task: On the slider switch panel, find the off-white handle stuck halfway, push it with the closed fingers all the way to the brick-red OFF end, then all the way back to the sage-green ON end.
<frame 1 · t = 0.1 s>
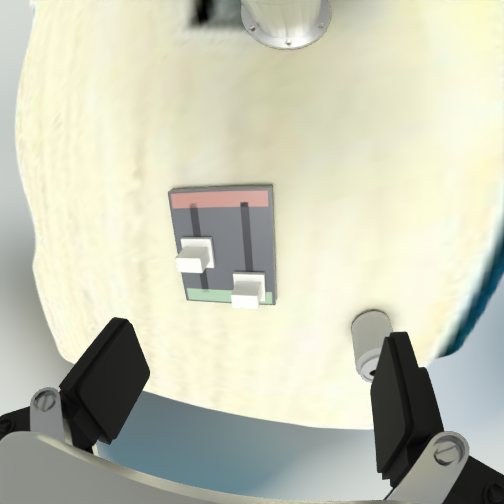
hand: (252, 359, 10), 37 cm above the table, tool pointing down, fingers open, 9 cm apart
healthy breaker: (247, 293, 48), point 5 cm above the table, slide at 6.0 cm
slider switch panel: (226, 245, 50), on the table
tripped breaker: (194, 258, 47), point 5 cm above the table, slide at 0.0 cm
can: (370, 323, 53), on the table
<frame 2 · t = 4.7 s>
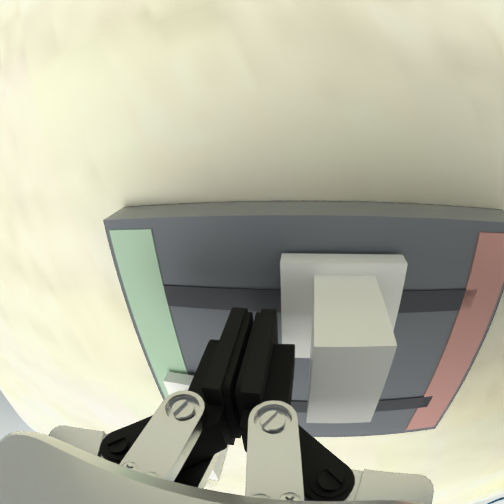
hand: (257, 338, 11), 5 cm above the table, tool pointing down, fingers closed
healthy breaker: (203, 431, 15), point 5 cm above the table, slide at 6.0 cm
slider switch panel: (314, 338, 17), on the table
tripped breaker: (343, 342, 11), point 5 cm above the table, slide at -0.9 cm, touching gripper
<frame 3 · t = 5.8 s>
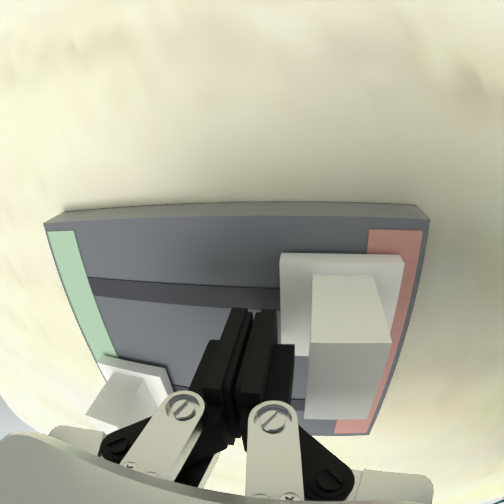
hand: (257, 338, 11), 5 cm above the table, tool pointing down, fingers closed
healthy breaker: (128, 411, 17), point 5 cm above the table, slide at 6.0 cm
slider switch panel: (225, 332, 18), on the table
tripped breaker: (340, 339, 11), point 5 cm above the table, slide at -6.2 cm, touching gripper
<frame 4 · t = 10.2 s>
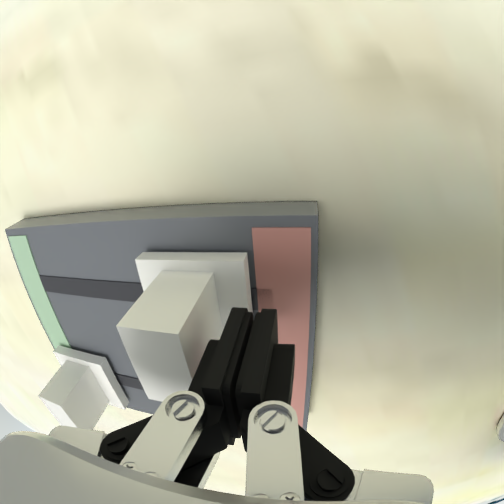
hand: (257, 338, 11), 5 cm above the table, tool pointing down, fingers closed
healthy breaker: (78, 396, 18), point 5 cm above the table, slide at 6.0 cm
slider switch panel: (156, 326, 19), on the table
tripped breaker: (182, 331, 12), point 5 cm above the table, slide at -4.6 cm, touching gripper
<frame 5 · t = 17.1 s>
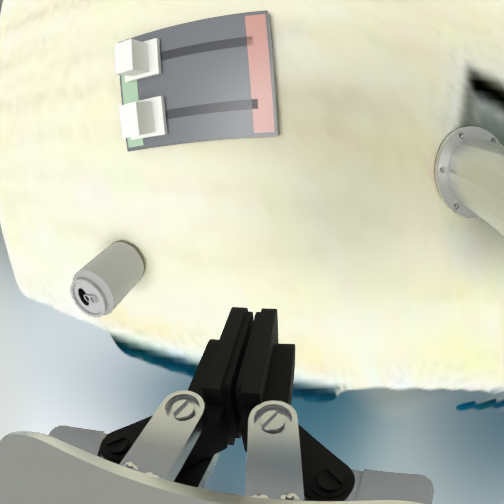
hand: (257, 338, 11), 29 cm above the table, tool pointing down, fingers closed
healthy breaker: (139, 119, 32), point 5 cm above the table, slide at 6.0 cm
slider switch panel: (195, 81, 34), on the table
tripped breaker: (133, 58, 29), point 5 cm above the table, slide at 6.1 cm
can: (127, 259, 48), on the table
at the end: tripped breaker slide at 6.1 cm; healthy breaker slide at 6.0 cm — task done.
